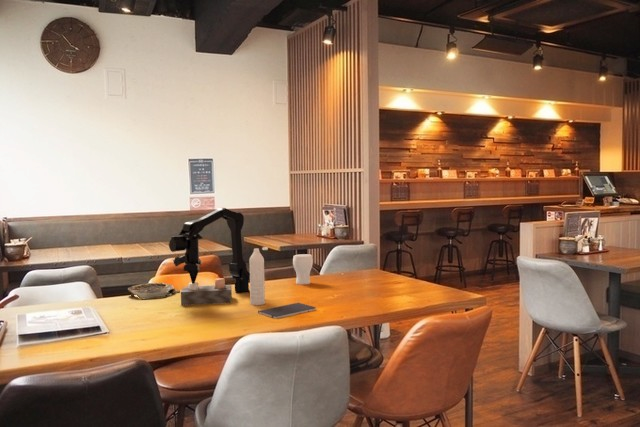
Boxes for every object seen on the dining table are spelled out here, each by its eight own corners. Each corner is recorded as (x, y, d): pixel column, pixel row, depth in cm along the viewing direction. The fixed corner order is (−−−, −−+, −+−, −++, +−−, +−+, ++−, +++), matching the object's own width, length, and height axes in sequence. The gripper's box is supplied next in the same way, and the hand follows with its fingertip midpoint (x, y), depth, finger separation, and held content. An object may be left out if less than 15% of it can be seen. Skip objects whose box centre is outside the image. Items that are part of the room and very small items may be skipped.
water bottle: (254, 306, 233) (252, 249, 232) (248, 303, 239) (246, 248, 237) (272, 303, 238) (270, 248, 236) (265, 300, 244) (264, 246, 242)
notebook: (298, 306, 235) (258, 314, 221) (298, 302, 235) (257, 310, 221) (316, 311, 225) (275, 320, 212) (316, 307, 225) (275, 316, 211)
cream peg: (199, 294, 247) (198, 282, 246) (198, 296, 242) (197, 283, 242) (189, 294, 246) (188, 282, 246) (188, 296, 242) (187, 284, 241)
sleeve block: (231, 297, 253) (231, 284, 252) (231, 302, 241) (230, 289, 240) (184, 299, 250) (183, 286, 249) (181, 305, 238) (180, 292, 237)
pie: (118, 302, 247) (117, 292, 247) (123, 292, 273) (122, 282, 273) (180, 298, 254) (179, 287, 254) (179, 288, 281) (179, 278, 281)
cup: (290, 284, 280) (289, 256, 279) (297, 281, 290) (296, 253, 289) (309, 285, 277) (309, 257, 276) (315, 281, 287) (315, 254, 286)
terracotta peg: (225, 290, 248) (224, 278, 248) (224, 292, 244) (224, 279, 243) (215, 290, 248) (215, 278, 247) (215, 292, 243) (214, 280, 243)
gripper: (176, 247, 251) (177, 280, 252) (171, 252, 232) (172, 288, 233) (200, 246, 252) (201, 279, 253) (197, 251, 234) (198, 286, 235)
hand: (193, 283), depth 244 cm, fingers closed, pressing on cream peg
